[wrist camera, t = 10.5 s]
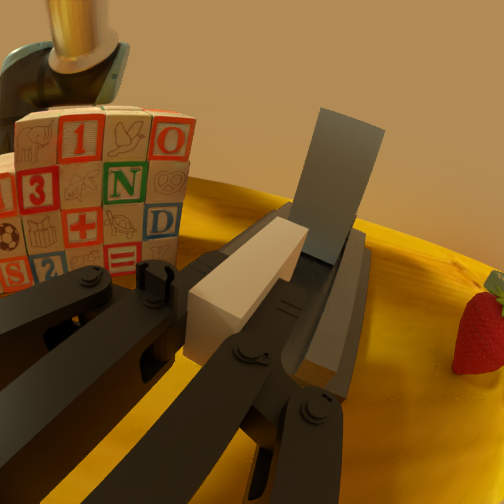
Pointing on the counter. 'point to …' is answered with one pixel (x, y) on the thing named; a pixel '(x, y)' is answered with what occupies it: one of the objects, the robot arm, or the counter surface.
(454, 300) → the counter surface
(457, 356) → the strawberry
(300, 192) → the grey rectangular block
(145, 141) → the stack of blocks
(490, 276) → the carton
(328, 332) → the chute
